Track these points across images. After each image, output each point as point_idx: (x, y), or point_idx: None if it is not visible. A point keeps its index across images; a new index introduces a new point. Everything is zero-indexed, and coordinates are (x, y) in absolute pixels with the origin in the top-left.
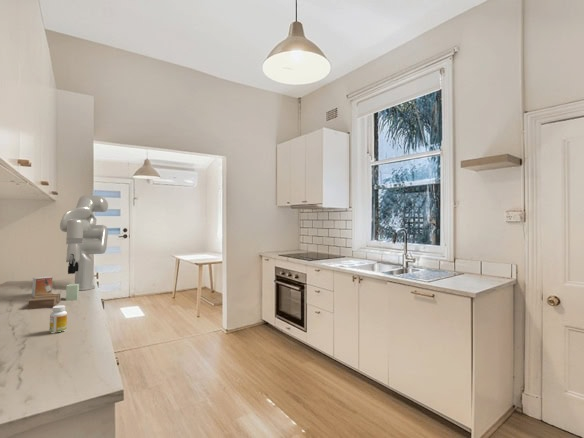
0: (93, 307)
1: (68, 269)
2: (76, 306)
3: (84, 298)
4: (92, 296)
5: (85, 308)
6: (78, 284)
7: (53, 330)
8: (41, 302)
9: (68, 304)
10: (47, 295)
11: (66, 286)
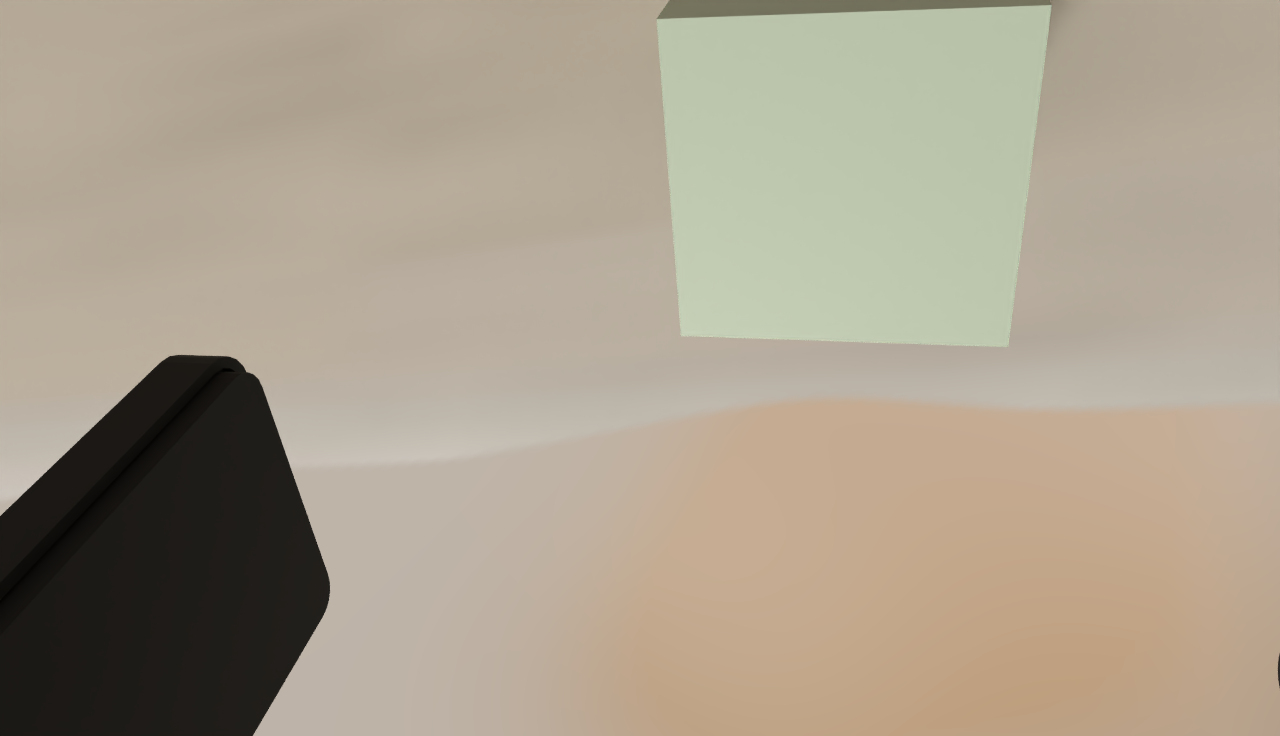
0: None
1: (23, 530)
2: (162, 232)
3: None
4: (1020, 400)
5: (48, 367)
6: (878, 339)
7: None
8: None
9: (318, 65)
10: None
11: (665, 11)
